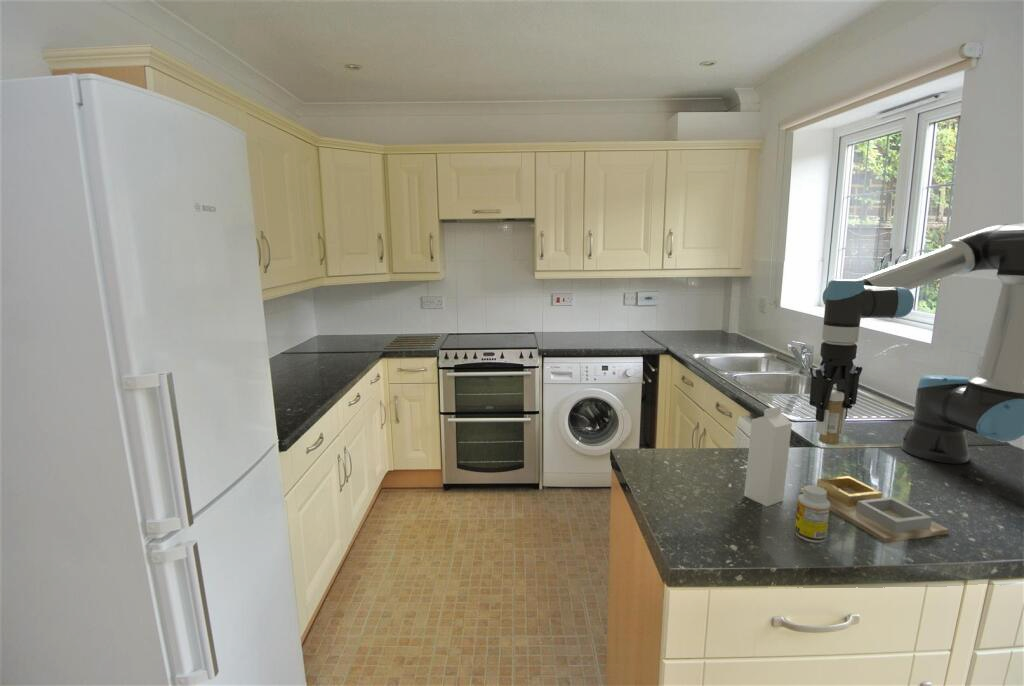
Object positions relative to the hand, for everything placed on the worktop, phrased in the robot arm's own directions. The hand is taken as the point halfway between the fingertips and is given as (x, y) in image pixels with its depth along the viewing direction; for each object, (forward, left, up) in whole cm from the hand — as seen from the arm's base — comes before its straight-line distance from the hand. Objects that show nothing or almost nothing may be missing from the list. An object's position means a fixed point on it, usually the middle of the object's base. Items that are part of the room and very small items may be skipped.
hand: (829, 432), depth 130 cm
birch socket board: (+6, +18, -12) cm, 22 cm away
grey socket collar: (+6, +23, -12) cm, 27 cm away
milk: (+25, +8, -12) cm, 28 cm away
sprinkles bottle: (0, 0, -3) cm, 3 cm away
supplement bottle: (+27, +24, -12) cm, 38 cm away
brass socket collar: (+6, +12, -12) cm, 18 cm away
